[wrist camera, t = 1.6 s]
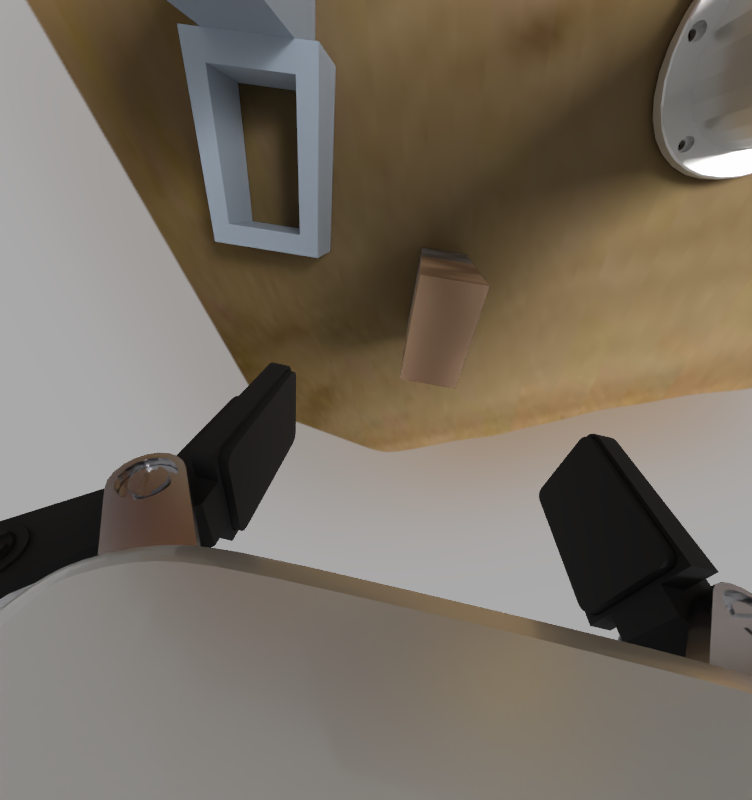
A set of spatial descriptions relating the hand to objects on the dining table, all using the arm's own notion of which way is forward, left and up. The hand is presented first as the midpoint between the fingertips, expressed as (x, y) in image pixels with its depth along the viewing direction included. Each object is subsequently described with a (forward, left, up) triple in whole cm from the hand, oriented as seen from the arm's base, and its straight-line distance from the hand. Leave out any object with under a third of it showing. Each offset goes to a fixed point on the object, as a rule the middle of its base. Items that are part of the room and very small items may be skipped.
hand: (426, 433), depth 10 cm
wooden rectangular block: (-1, +1, -23) cm, 23 cm away
